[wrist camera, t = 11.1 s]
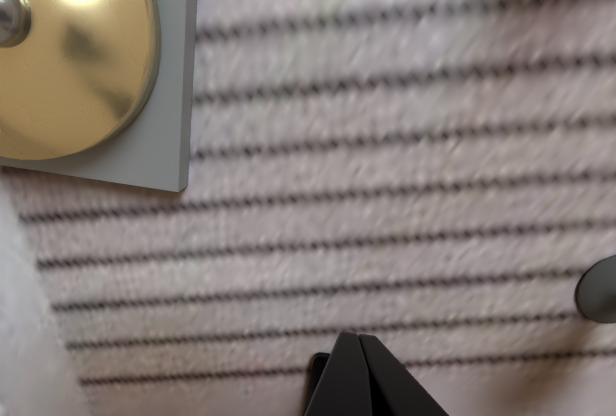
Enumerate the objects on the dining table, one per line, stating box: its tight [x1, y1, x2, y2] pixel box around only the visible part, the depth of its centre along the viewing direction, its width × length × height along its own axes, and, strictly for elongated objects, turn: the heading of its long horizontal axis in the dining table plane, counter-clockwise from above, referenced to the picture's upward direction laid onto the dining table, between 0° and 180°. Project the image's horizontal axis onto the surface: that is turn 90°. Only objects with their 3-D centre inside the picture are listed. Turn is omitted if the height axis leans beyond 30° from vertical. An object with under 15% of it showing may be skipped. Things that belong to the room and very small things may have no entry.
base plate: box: [0, 0, 197, 192], centre depth 17 cm, size 15×15×2 cm
